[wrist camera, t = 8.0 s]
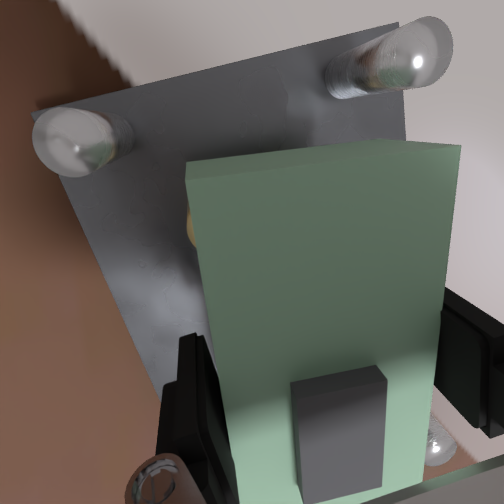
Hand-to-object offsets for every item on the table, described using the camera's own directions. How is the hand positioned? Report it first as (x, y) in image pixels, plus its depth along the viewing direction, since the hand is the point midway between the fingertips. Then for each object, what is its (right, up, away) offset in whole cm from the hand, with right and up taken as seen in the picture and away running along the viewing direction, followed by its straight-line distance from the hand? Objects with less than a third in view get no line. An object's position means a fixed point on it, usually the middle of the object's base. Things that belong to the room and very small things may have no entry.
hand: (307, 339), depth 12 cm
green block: (0, 0, +1) cm, 1 cm away
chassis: (-1, +2, +5) cm, 6 cm away
